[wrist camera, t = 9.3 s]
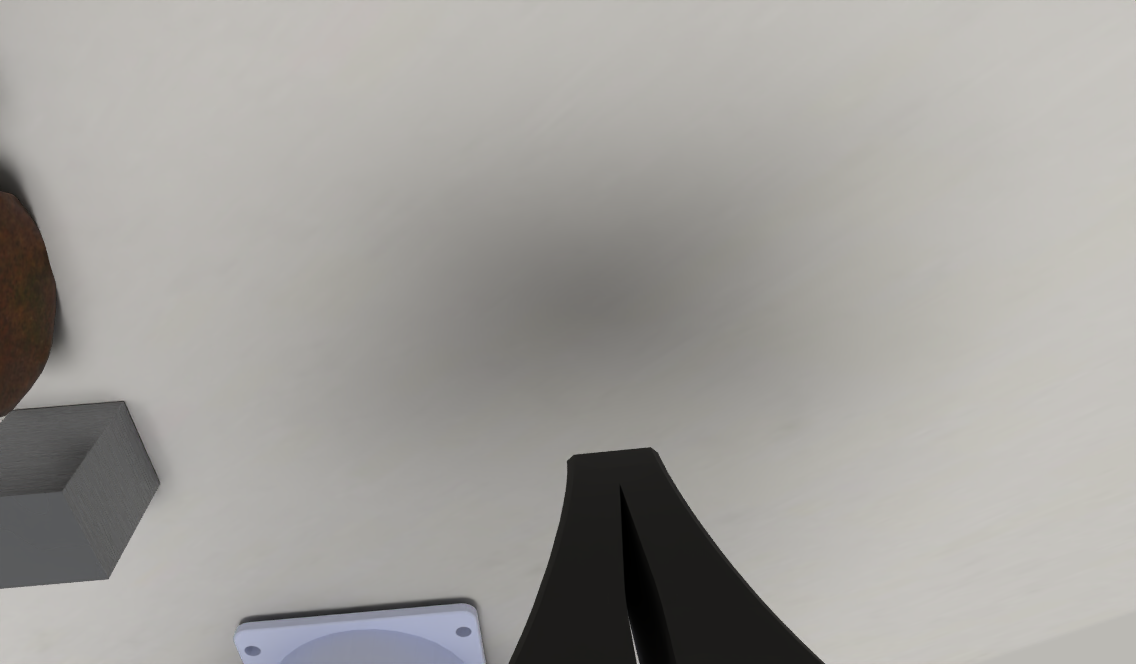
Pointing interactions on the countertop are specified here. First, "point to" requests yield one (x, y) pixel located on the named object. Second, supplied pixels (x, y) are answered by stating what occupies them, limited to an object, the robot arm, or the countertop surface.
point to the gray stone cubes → (69, 492)
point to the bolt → (23, 303)
